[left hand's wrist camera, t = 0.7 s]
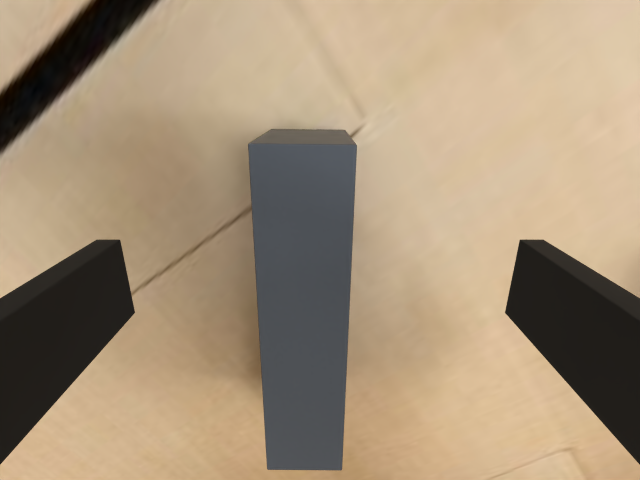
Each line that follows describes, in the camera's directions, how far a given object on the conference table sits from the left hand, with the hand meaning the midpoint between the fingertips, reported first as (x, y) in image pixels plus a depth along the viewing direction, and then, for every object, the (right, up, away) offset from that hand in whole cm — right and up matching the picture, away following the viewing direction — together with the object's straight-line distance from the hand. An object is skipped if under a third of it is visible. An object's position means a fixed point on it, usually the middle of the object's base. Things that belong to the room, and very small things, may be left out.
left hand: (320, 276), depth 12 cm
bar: (-1, -1, +16) cm, 16 cm away
